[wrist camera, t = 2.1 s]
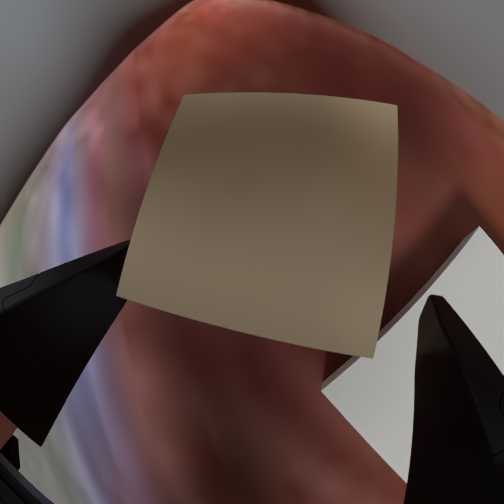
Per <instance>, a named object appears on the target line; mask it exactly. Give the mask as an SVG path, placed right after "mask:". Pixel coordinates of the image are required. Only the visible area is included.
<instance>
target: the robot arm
mask: <svg viewBox="0 0 504 504" xmlns="http://www.w3.org/2000/svg"><path fill="white" fill-rule="evenodd" d="M130 241H131V240H127V241H124V242H121V243H118V244H116V245H113V246H110V247H107V248H104V249H102V250H99V251H96V252H93V253H91V254H88V255H85V256H83V257H80V258H77V259H75V260H72V261H69V262H67V263H64V264H61V265H59V266H56V267H54V268H51V269H49V270H46V271H43V272H41V273H40V274H36V275H33V276H31V277H28V278H26V279H23V280H21V281H18V282H15V283H12V284H10V285H7V286H4V287H1V288H0V504H54V503H52V502H51V501H50V500H49V499H48V498H47V497H45V496H44V495H43V494H42V493H41V492H40V491H39V490H37V489H36V488H35V487H34V486H33V485H32V484H31V483H30V482H29V481H28V480H27V479H26V478H25V477H24V476H23V475H22V474H21V473H20V472H19V471H18V470H19V468H20V459H19V445H18V439H17V438H16V437H15V436H14V435H13V433H14V432H15V430H16V429H17V428H19V429H20V430H21V431H22V432H23V433H24V434H26V435H27V436H28V437H29V438H30V439H31V440H33V441H34V442H35V443H36V444H38V445H39V446H40V447H41V446H42V444H43V443H44V441H45V439H46V437H47V435H48V433H49V431H50V429H51V427H52V426H53V424H54V422H55V420H56V418H57V416H58V414H59V413H60V411H61V409H62V407H63V405H64V403H65V402H66V399H67V398H68V396H69V394H70V392H71V391H72V389H73V387H74V385H75V384H76V382H77V380H78V378H79V377H80V375H81V373H82V372H83V370H84V368H85V367H86V365H87V363H88V362H89V360H90V358H91V357H92V355H93V353H94V352H95V350H96V348H97V347H98V345H99V344H100V342H101V340H102V339H103V337H104V336H105V334H106V332H107V331H108V329H109V328H110V326H111V325H112V323H113V322H114V320H115V318H116V317H117V315H118V314H119V312H120V311H121V309H122V308H123V306H124V304H125V303H126V301H127V299H124V298H121V297H118V296H116V294H117V290H118V286H119V282H120V278H121V274H122V270H123V266H124V262H125V259H126V255H127V251H128V248H129V244H130ZM404 504H504V375H503V374H502V372H501V371H500V369H499V368H498V367H497V365H496V364H495V362H494V361H493V360H492V358H491V357H490V355H489V354H488V353H487V351H486V350H485V349H484V347H483V346H482V344H481V343H480V342H479V340H478V339H477V338H476V337H475V335H474V334H473V333H472V331H471V330H470V329H469V328H468V326H467V325H466V324H465V322H464V321H463V320H462V319H461V317H460V316H459V315H458V314H457V313H456V311H455V310H454V309H453V308H452V306H451V305H450V304H449V303H448V302H447V300H446V299H445V298H444V297H443V296H439V295H433V294H431V295H429V296H428V298H427V300H426V303H425V305H424V307H423V310H422V312H421V315H420V317H419V322H418V336H417V349H416V360H415V374H414V415H413V432H412V445H411V455H410V464H409V473H408V480H407V487H406V493H405V499H404Z"/></svg>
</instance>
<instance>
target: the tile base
mask: <svg viewBox="0 0 504 504" xmlns="http://www.w3.org/2000/svg"><path fill="white" fill-rule="evenodd" d="M431 294H433V295H439V296H443V297H444V298H445V299H446V300H447V302H448V303H449V304H450V305H451V306H452V308H453V309H454V310H455V311H456V313H457V314H458V315H459V316H460V317H461V319H462V320H463V321H464V322H465V324H466V325H467V326H468V328H469V329H470V330H471V331H472V333H473V334H474V335H475V337H476V338H477V339H478V340H479V342H480V343H481V344H482V346H483V347H484V349H485V350H486V351H487V353H488V354H489V355H490V357H491V358H492V360H493V361H494V362H495V364H496V365H497V367H498V368H499V369H500V371H501V372H502V374H503V375H504V255H503V254H502V252H501V251H500V250H499V249H498V247H497V246H496V245H495V244H494V243H493V241H492V240H491V239H490V238H489V237H488V235H487V234H486V233H485V232H484V231H483V230H482V228H481V227H480V226H479V227H478V228H477V229H475V230H474V231H473V232H471V233H470V234H469V235H468V236H466V237H465V238H464V239H463V240H462V241H461V242H460V244H459V245H458V246H457V247H456V249H455V250H454V251H453V252H452V253H451V255H450V256H449V257H448V258H447V259H446V261H445V262H444V263H443V264H442V265H441V267H440V268H439V269H438V270H437V271H436V272H435V274H434V275H433V276H432V277H431V278H430V279H429V280H428V281H427V283H426V284H425V285H424V286H423V287H422V288H421V289H420V290H419V291H418V293H417V294H416V295H415V296H414V297H413V298H412V299H411V300H410V301H409V302H408V303H407V304H406V305H405V306H404V307H403V308H402V309H401V310H400V311H399V312H398V313H397V314H396V316H395V317H394V318H393V319H392V320H391V321H390V322H388V323H387V324H386V325H385V326H384V327H383V328H382V329H381V330H380V331H379V334H378V339H377V344H376V348H375V353H374V357H373V359H371V358H365V357H359V356H352V357H351V358H350V359H349V360H348V361H347V362H345V363H344V364H343V365H342V366H341V367H340V368H338V369H337V370H336V371H335V372H334V373H333V374H331V375H330V376H329V377H328V378H327V379H325V380H324V381H323V382H322V387H321V391H322V393H323V394H324V395H325V396H326V397H327V398H328V399H329V400H330V402H331V403H332V404H333V405H334V406H335V407H336V408H337V409H338V410H339V412H340V413H341V414H342V415H343V416H344V417H345V418H346V419H347V420H348V421H349V423H350V424H351V425H352V426H353V427H354V428H355V429H356V430H357V431H358V432H359V433H360V435H361V436H362V437H363V438H364V439H365V440H366V441H367V442H368V443H369V444H370V445H371V446H372V448H373V449H374V450H375V451H376V452H377V453H378V454H379V455H380V456H381V457H382V458H383V459H384V460H385V461H386V462H387V463H388V464H389V466H390V467H391V468H392V469H393V470H394V471H395V472H396V473H397V474H398V475H399V476H400V477H401V478H402V479H403V480H404V481H405V482H406V483H407V480H408V473H409V464H410V455H411V445H412V432H413V415H414V374H415V360H416V349H417V336H418V322H419V317H420V315H421V312H422V310H423V307H424V305H425V303H426V300H427V298H428V296H429V295H431Z"/></svg>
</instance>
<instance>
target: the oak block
mask: <svg viewBox="0 0 504 504" xmlns="http://www.w3.org/2000/svg"><path fill="white" fill-rule="evenodd" d="M397 176H398V109H397V105H393V104H387V103H381V102H374V101H367V100H360V99H352V98H344V97H334V96H324V95H311V94H295V93H268V92H231V93H204V94H188V95H184V96H183V98H182V100H181V103H180V105H179V107H178V110H177V112H176V114H175V117H174V119H173V121H172V124H171V126H170V129H169V131H168V133H167V136H166V138H165V141H164V144H163V146H162V149H161V151H160V154H159V157H158V159H157V162H156V165H155V167H154V170H153V173H152V176H151V178H150V181H149V184H148V187H147V190H146V193H145V196H144V199H143V202H142V205H141V208H140V211H139V214H138V218H137V221H136V224H135V227H134V231H133V234H132V237H131V241H130V244H129V248H128V251H127V255H126V259H125V262H124V266H123V270H122V274H121V278H120V282H119V286H118V290H117V294H116V296H118V297H121V298H124V299H127V300H131V301H134V302H137V303H140V304H143V305H146V306H149V307H153V308H156V309H159V310H163V311H166V312H169V313H173V314H176V315H180V316H183V317H187V318H190V319H194V320H197V321H201V322H205V323H208V324H212V325H216V326H220V327H223V328H227V329H231V330H235V331H239V332H243V333H247V334H251V335H256V336H260V337H264V338H268V339H273V340H277V341H282V342H286V343H291V344H296V345H300V346H305V347H310V348H315V349H320V350H325V351H331V352H336V353H342V354H347V355H353V356H359V357H365V358H371V359H373V357H374V353H375V348H376V344H377V339H378V334H379V329H380V324H381V319H382V313H383V308H384V302H385V296H386V290H387V283H388V276H389V269H390V261H391V253H392V244H393V235H394V224H395V212H396V197H397Z"/></svg>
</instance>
